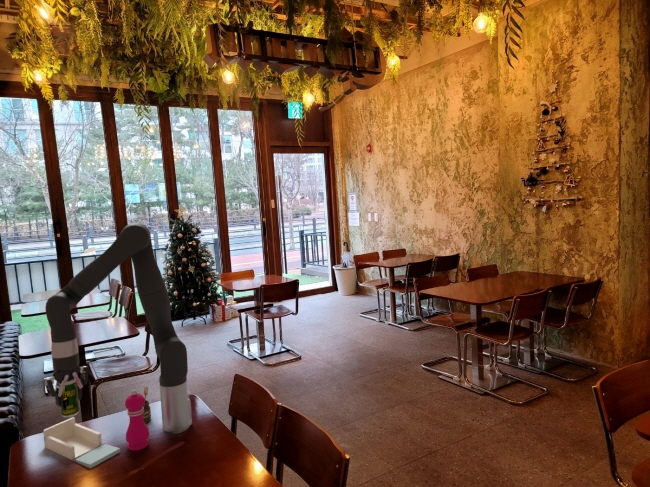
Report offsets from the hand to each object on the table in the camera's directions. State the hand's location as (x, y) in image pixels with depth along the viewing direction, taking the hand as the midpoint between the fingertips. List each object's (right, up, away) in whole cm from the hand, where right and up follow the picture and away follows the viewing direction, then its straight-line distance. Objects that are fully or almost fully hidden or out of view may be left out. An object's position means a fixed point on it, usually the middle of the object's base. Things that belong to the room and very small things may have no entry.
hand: (69, 402), depth 146 cm
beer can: (0, -4, 0) cm, 4 cm away
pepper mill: (+23, -16, +1) cm, 27 cm away
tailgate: (+8, -15, -3) cm, 18 cm away
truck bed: (+1, -16, +1) cm, 16 cm away
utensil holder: (+16, -14, +19) cm, 29 cm away
